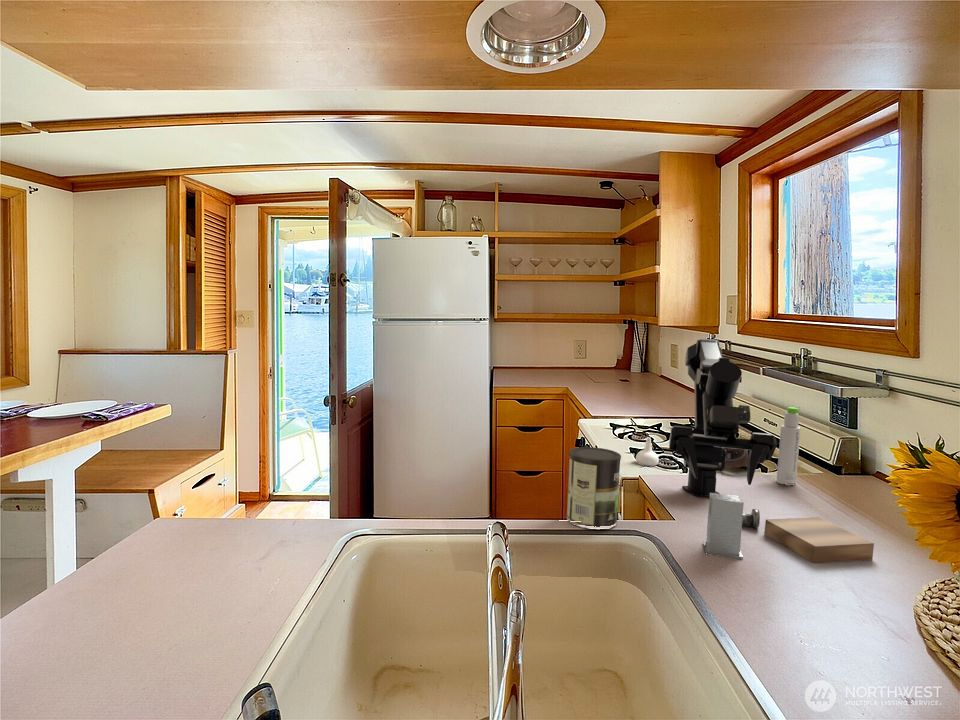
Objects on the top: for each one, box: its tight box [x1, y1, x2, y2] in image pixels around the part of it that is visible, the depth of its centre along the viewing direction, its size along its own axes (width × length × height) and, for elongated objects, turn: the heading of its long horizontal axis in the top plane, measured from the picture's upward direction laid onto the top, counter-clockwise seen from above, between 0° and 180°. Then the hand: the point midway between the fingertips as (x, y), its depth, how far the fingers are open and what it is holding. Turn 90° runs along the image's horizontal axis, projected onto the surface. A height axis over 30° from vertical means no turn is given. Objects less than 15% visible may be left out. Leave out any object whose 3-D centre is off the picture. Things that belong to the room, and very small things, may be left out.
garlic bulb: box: [635, 436, 660, 467], centre depth 149 cm, size 6×6×8 cm
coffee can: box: [566, 446, 622, 527], centre depth 105 cm, size 10×10×14 cm
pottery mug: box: [725, 448, 748, 470], centre depth 146 cm, size 12×10×8 cm
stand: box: [763, 516, 875, 564], centre depth 96 cm, size 12×12×3 cm
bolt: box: [742, 508, 761, 529], centre depth 105 cm, size 6×4×4 cm, turn 70°
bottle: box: [776, 406, 801, 486], centre depth 134 cm, size 4×4×20 cm
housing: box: [702, 493, 744, 560], centre depth 92 cm, size 4×6×10 cm
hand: (722, 480), depth 96 cm, fingers open, 9 cm apart
